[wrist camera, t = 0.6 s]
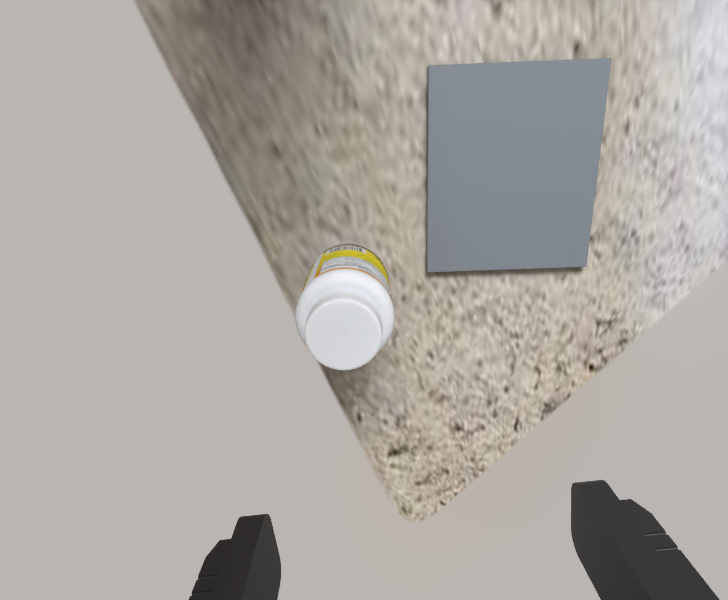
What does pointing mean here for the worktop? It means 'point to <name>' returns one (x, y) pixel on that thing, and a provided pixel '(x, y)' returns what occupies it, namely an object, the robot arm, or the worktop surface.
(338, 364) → the supplement bottle
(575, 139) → the mat
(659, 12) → the worktop surface
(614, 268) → the worktop surface
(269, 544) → the robot arm
